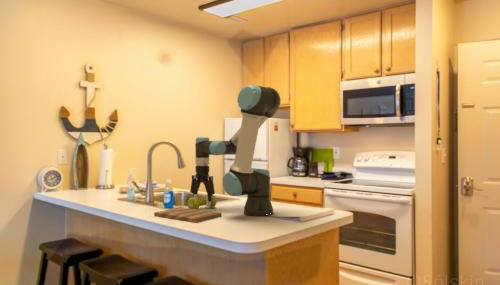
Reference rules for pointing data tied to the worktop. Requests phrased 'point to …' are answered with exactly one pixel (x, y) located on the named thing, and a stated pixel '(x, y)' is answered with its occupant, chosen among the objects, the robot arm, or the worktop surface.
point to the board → (188, 214)
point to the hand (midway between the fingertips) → (202, 206)
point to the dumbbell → (200, 202)
